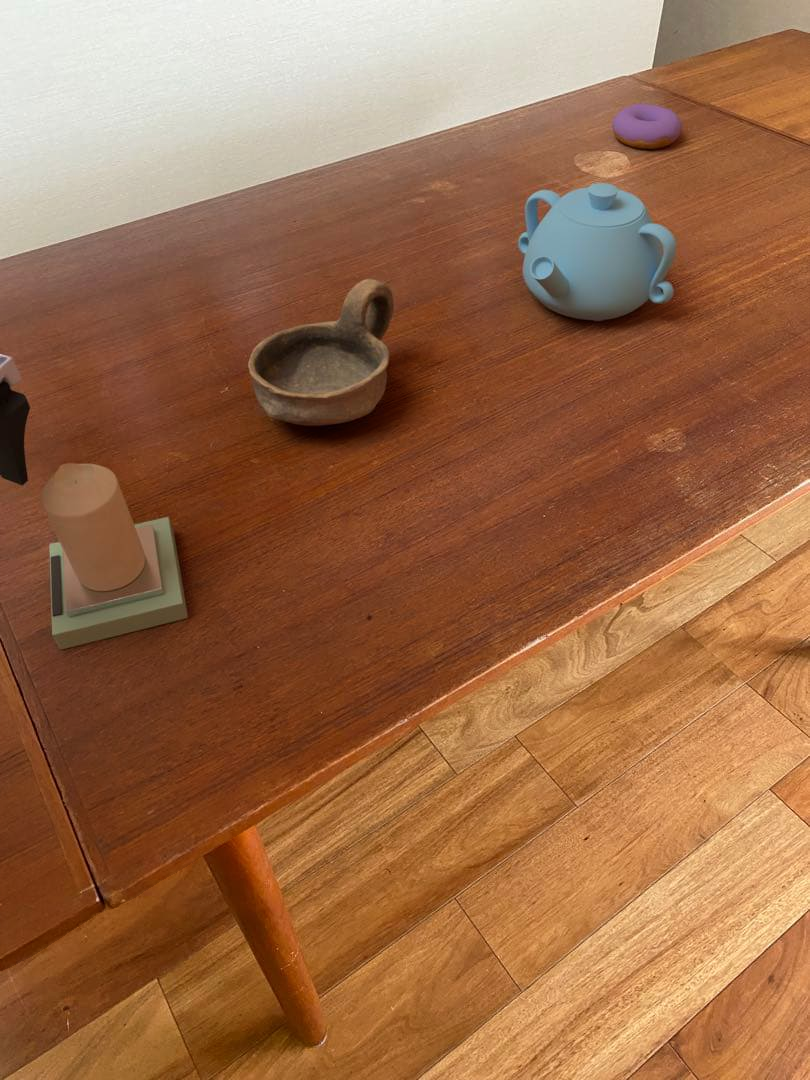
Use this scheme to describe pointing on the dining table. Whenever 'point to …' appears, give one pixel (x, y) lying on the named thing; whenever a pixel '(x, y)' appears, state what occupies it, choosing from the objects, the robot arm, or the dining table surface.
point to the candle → (93, 525)
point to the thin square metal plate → (140, 588)
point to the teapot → (595, 253)
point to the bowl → (327, 363)
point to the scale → (122, 615)
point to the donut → (646, 126)
